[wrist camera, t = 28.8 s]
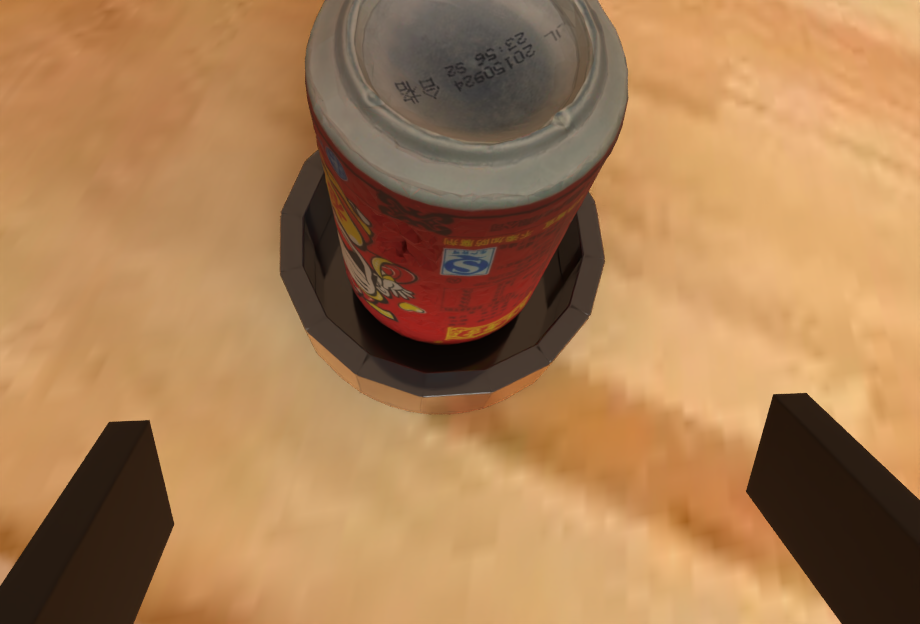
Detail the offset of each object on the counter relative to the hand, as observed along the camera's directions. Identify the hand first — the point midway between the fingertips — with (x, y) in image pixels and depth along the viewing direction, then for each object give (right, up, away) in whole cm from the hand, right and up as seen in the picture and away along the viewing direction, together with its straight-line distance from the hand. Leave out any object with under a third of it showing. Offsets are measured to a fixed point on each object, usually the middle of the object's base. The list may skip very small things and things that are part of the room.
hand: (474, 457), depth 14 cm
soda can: (-1, +5, +11) cm, 12 cm away
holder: (-1, +5, +11) cm, 12 cm away
